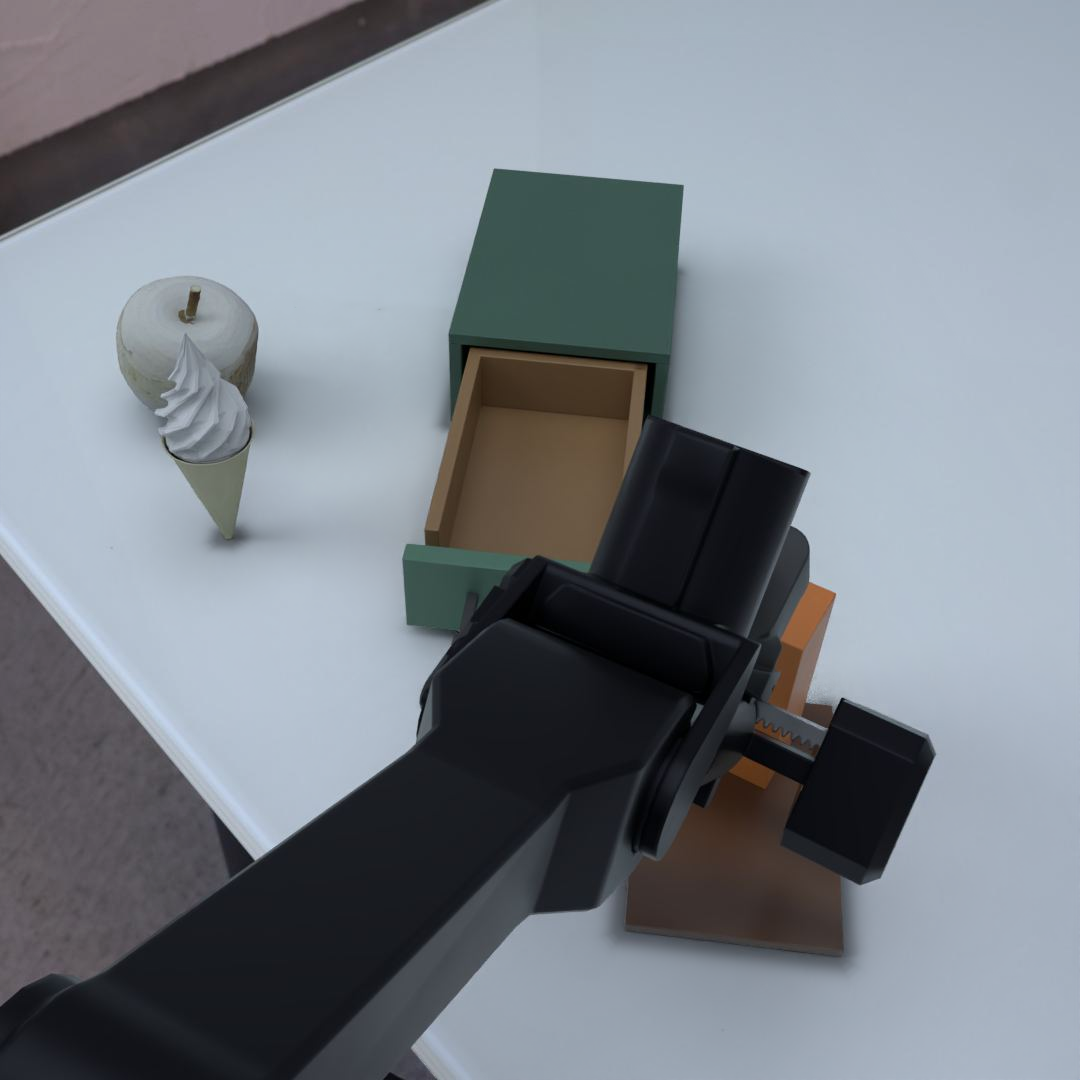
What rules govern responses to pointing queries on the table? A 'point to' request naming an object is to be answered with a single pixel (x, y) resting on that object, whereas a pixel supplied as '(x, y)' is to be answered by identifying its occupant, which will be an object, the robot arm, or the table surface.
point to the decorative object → (159, 329)
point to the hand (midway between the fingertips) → (731, 702)
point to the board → (740, 873)
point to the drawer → (522, 475)
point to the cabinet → (572, 274)
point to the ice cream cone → (207, 434)
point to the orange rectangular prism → (793, 670)
